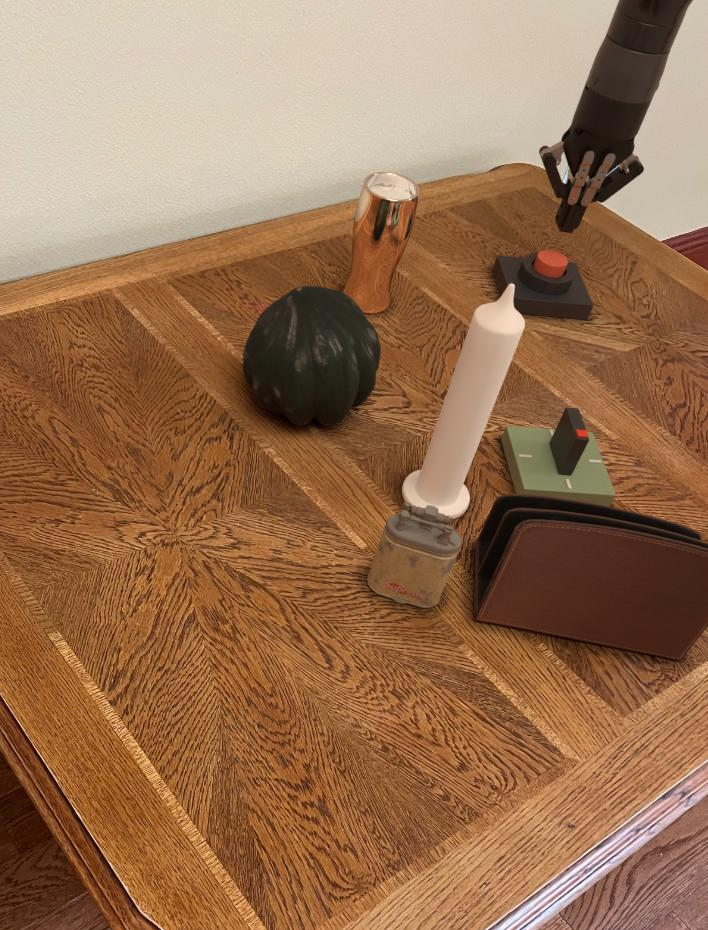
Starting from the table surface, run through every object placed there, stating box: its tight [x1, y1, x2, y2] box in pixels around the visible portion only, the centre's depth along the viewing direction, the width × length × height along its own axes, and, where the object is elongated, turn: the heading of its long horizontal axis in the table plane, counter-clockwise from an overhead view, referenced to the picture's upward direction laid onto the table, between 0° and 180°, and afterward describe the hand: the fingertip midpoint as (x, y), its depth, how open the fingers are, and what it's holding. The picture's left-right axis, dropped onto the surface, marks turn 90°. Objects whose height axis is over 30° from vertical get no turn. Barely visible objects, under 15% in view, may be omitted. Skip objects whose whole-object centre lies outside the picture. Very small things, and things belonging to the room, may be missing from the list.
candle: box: [401, 283, 526, 520], centre depth 88 cm, size 7×7×25 cm
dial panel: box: [500, 425, 617, 507], centre depth 102 cm, size 10×10×2 cm
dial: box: [549, 406, 589, 475], centre depth 99 cm, size 5×1×5 cm, turn 1°
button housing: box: [491, 252, 594, 321], centre depth 124 cm, size 11×10×4 cm
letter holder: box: [473, 493, 708, 662], centre depth 85 cm, size 10×20×14 cm, turn 81°
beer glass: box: [342, 171, 421, 314], centre depth 114 cm, size 7×7×15 cm
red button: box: [533, 249, 569, 278], centre depth 122 cm, size 4×4×2 cm
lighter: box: [366, 501, 463, 609], centre depth 85 cm, size 7×4×10 cm, turn 73°
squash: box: [242, 285, 382, 426], centre depth 101 cm, size 14×15×15 cm
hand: (563, 229), depth 118 cm, fingers closed
